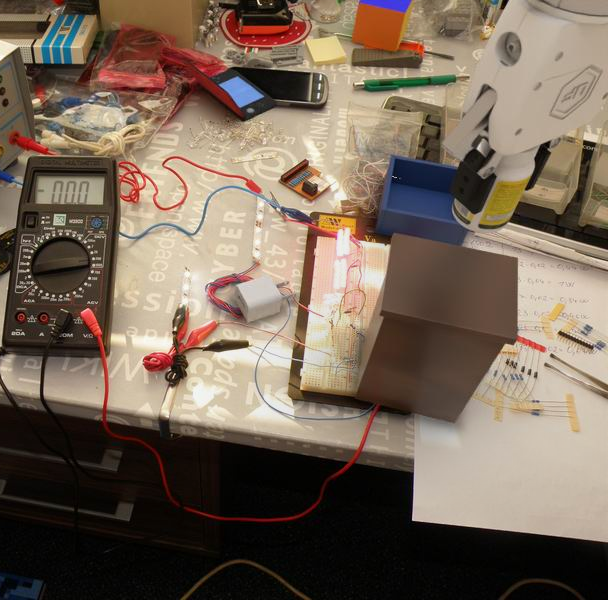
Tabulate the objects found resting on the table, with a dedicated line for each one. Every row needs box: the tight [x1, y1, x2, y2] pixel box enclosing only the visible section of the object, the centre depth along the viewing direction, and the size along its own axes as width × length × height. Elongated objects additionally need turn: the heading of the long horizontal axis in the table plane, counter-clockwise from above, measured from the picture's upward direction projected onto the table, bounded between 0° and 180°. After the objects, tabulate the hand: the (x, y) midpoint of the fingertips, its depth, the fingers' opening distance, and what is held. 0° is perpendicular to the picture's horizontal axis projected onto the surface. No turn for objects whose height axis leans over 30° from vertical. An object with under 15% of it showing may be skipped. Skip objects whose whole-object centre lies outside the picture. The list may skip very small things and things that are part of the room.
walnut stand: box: [354, 233, 519, 424], centre depth 70 cm, size 12×10×18 cm
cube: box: [351, 0, 415, 53], centre depth 117 cm, size 8×8×8 cm
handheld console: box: [180, 56, 278, 123], centre depth 106 cm, size 12×11×7 cm
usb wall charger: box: [234, 274, 297, 324], centre depth 82 cm, size 4×7×4 cm, turn 112°
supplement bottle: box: [452, 138, 540, 234], centre depth 54 cm, size 5×5×8 cm
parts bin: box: [374, 154, 469, 247], centre depth 91 cm, size 11×11×5 cm
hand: (491, 189), depth 55 cm, fingers closed on supplement bottle, 4 cm apart
